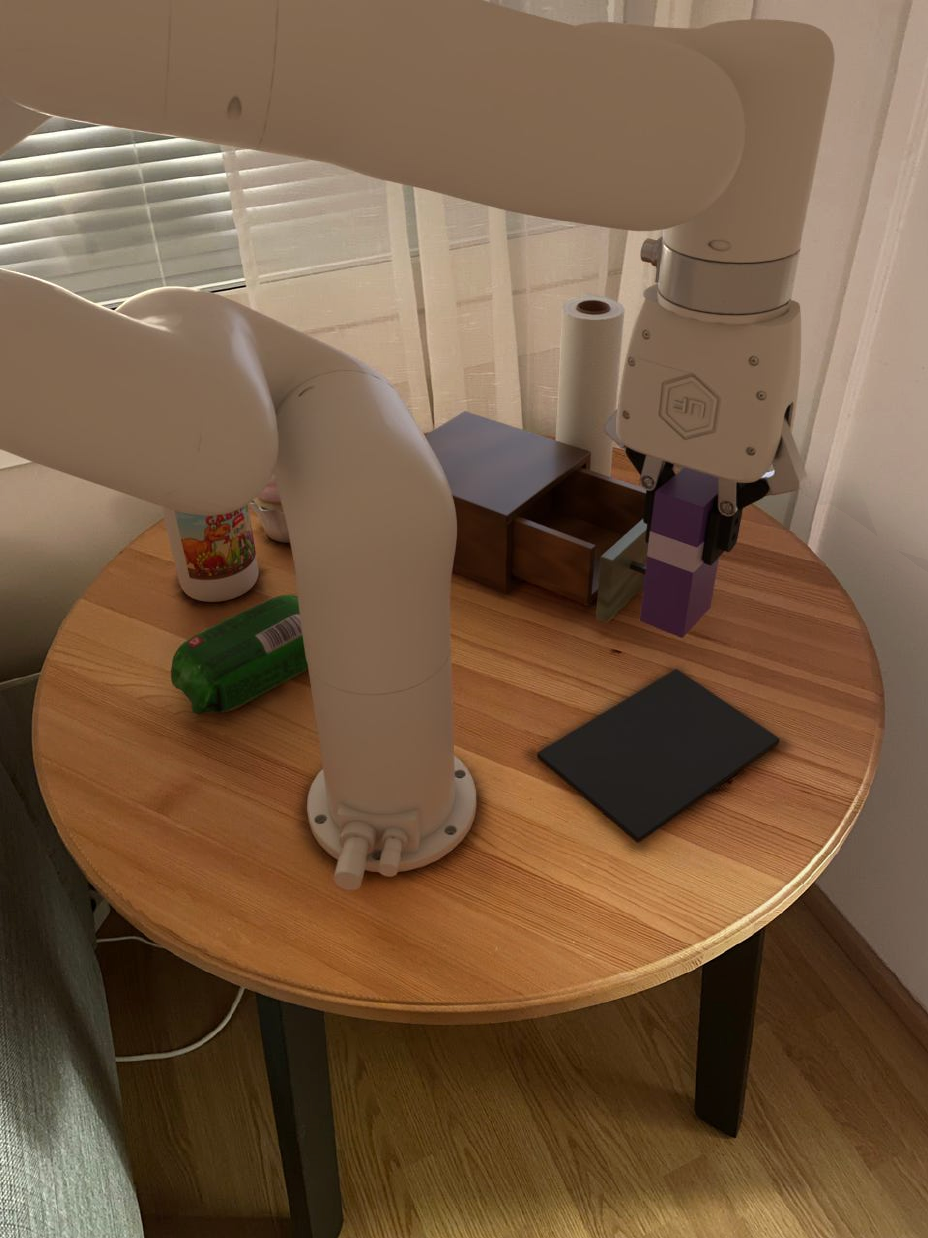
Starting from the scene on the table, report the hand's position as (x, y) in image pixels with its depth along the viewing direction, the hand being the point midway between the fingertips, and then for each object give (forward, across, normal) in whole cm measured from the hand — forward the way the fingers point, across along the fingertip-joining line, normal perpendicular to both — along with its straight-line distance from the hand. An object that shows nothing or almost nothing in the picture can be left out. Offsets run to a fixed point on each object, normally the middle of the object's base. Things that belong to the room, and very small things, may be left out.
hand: (687, 542), depth 68 cm
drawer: (+18, -16, +17) cm, 30 cm away
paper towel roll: (+20, -25, +30) cm, 44 cm away
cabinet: (+19, -29, +17) cm, 39 cm away
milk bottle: (+20, -46, -5) cm, 50 cm away
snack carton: (+6, 0, 0) cm, 6 cm away
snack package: (+20, -32, -12) cm, 40 cm away
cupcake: (+20, -46, +6) cm, 51 cm away
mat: (+19, 0, 0) cm, 19 cm away
